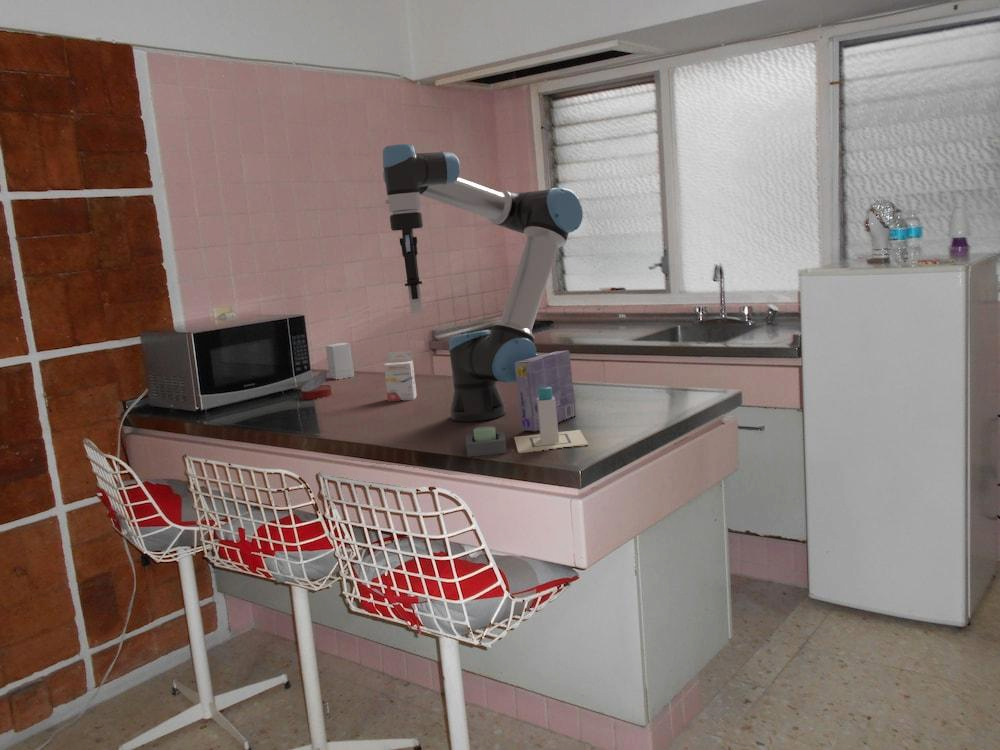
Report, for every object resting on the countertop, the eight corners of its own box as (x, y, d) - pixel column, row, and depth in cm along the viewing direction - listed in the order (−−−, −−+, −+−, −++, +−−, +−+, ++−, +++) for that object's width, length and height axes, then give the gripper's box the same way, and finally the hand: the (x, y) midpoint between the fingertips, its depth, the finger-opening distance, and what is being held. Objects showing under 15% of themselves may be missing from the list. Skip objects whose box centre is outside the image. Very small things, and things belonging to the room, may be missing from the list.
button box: (467, 447, 212) (465, 435, 211) (504, 443, 212) (503, 430, 212) (467, 457, 203) (466, 444, 203) (506, 452, 203) (505, 440, 203)
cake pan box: (563, 414, 237) (558, 348, 234) (579, 415, 234) (573, 348, 230) (519, 431, 222) (512, 362, 219) (535, 433, 219) (528, 362, 216)
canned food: (330, 410, 298) (326, 387, 291) (300, 410, 298) (295, 387, 292) (336, 389, 306) (332, 366, 300) (306, 389, 307) (302, 366, 301)
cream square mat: (514, 438, 216) (514, 436, 216) (580, 431, 216) (579, 429, 216) (518, 453, 202) (518, 451, 202) (588, 445, 202) (588, 443, 202)
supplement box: (355, 376, 333) (350, 343, 331) (336, 380, 329) (331, 346, 327) (347, 374, 339) (343, 342, 337) (329, 378, 336) (324, 345, 333)
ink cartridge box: (387, 402, 278) (381, 355, 275) (390, 398, 283) (385, 352, 280) (414, 399, 277) (408, 353, 274) (417, 396, 282) (412, 350, 279)
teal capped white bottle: (540, 439, 211) (535, 387, 209) (557, 437, 211) (552, 385, 209) (542, 443, 207) (537, 390, 205) (559, 441, 207) (554, 388, 205)
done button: (475, 446, 210) (473, 427, 209) (496, 443, 210) (494, 425, 209) (475, 451, 205) (473, 432, 204) (497, 449, 205) (495, 430, 204)
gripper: (391, 214, 216) (402, 311, 220) (387, 213, 203) (399, 316, 207) (422, 211, 216) (433, 308, 220) (420, 210, 203) (431, 313, 207)
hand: (416, 312), depth 214 cm, fingers closed
